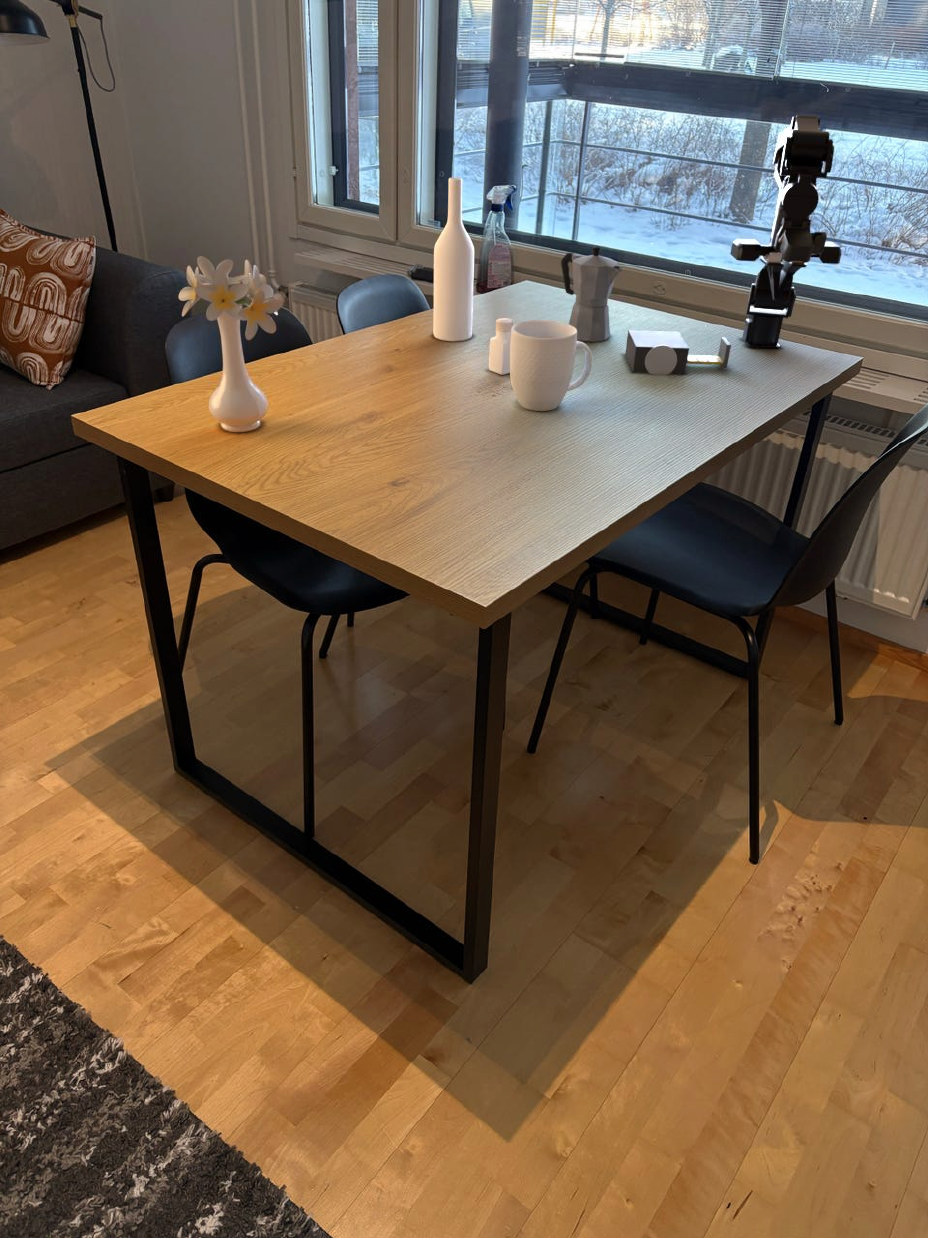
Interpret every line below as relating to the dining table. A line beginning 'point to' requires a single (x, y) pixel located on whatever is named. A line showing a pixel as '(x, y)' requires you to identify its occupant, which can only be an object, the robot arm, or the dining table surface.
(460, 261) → the bottle
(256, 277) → the flower vase
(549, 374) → the mug
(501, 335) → the pepper shaker
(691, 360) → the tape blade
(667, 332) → the tape case
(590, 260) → the coffeepot
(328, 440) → the dining table surface
